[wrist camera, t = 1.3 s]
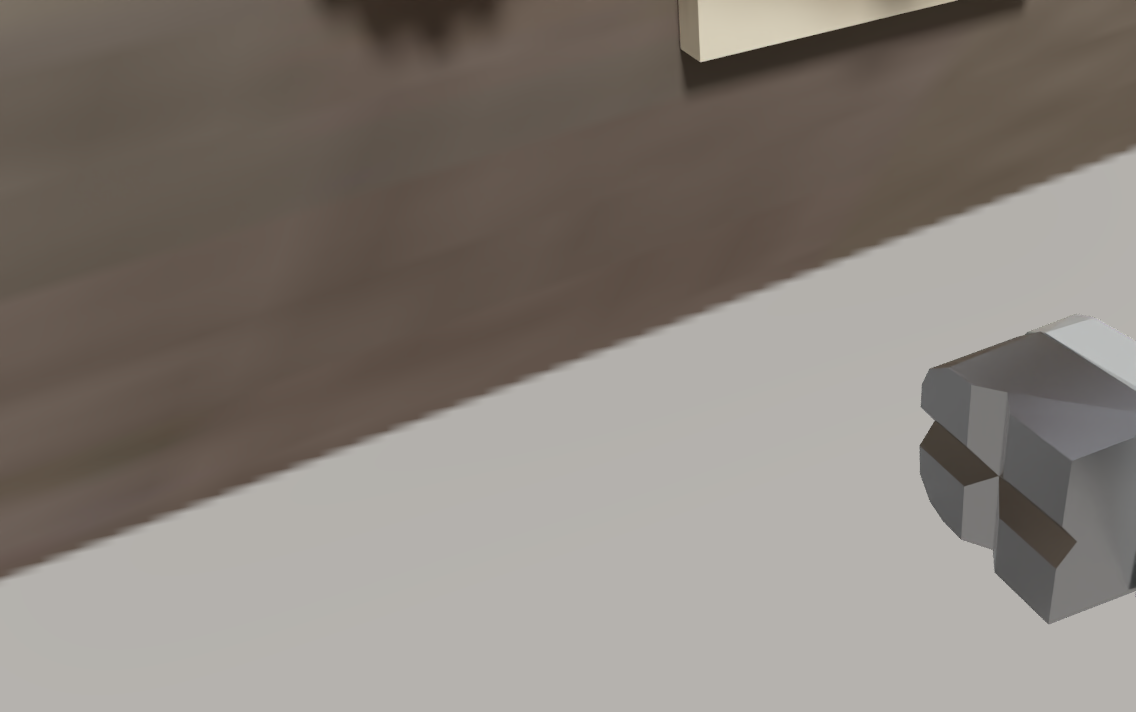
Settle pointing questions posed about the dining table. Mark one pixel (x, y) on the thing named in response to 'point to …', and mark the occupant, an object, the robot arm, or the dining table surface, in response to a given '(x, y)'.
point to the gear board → (774, 21)
